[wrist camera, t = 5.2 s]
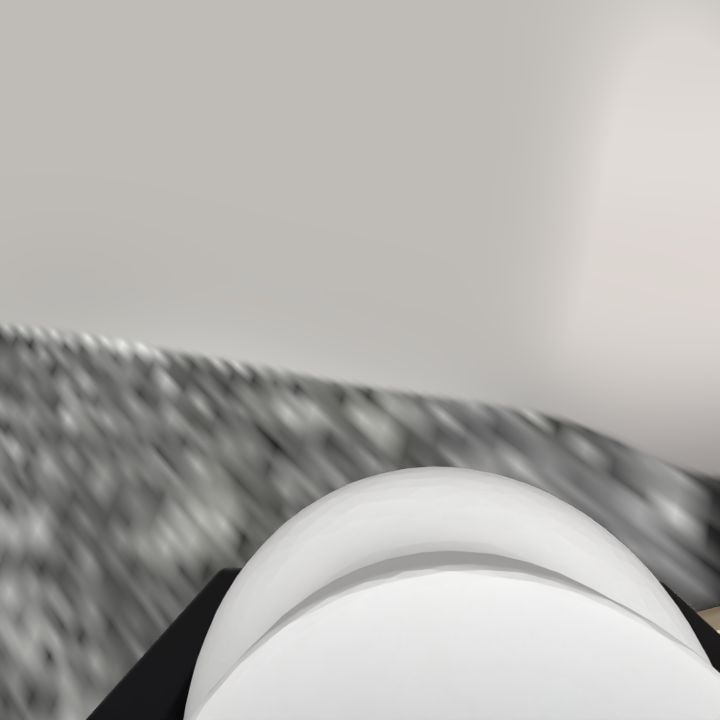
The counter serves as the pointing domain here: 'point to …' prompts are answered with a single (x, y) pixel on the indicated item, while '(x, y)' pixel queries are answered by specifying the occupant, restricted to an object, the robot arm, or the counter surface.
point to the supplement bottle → (448, 614)
